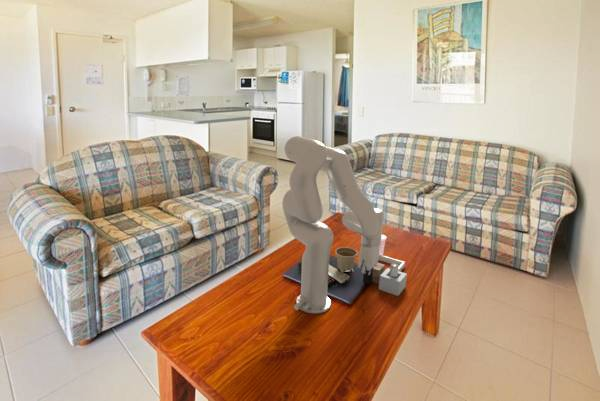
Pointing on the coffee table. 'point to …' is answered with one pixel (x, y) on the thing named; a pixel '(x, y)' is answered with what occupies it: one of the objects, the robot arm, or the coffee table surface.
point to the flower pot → (345, 258)
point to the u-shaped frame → (392, 261)
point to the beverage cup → (382, 245)
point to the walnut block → (377, 272)
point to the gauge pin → (394, 270)
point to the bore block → (392, 282)
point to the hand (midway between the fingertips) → (367, 281)
